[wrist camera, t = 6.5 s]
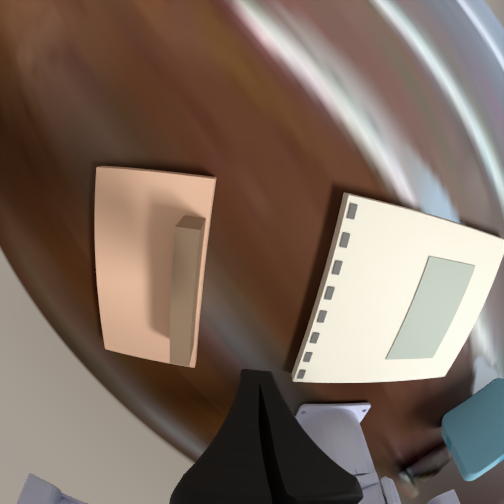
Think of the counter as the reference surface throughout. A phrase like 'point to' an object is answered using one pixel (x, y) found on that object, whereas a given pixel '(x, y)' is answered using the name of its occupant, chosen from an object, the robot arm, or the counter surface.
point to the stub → (151, 260)
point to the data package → (477, 431)
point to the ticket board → (395, 295)
